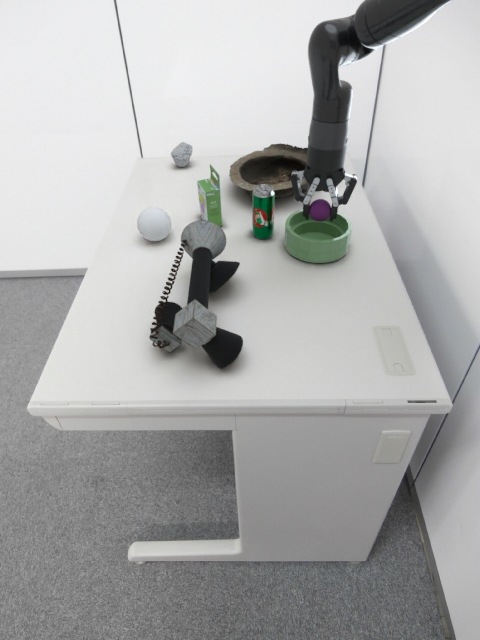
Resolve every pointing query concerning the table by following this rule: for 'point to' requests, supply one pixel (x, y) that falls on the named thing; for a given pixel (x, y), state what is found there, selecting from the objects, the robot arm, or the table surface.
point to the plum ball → (320, 210)
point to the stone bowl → (270, 169)
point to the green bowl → (317, 237)
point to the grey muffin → (182, 154)
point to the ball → (154, 223)
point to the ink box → (210, 198)
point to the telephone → (198, 298)
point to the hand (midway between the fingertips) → (319, 218)
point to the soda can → (263, 211)
